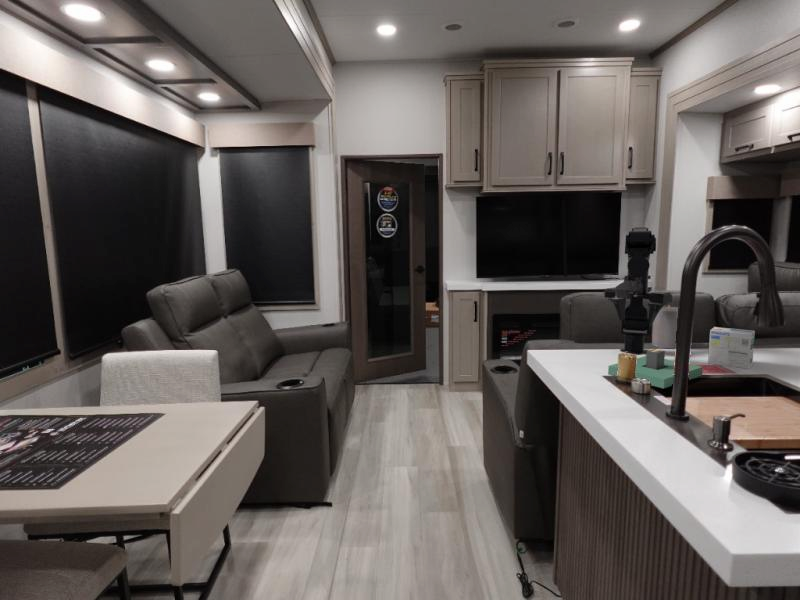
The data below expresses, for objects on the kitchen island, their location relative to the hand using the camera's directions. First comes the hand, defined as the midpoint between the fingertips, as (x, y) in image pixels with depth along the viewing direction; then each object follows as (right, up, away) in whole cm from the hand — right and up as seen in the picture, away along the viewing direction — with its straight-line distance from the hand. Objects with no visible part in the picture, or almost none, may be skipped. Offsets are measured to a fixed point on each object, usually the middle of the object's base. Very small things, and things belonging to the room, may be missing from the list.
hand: (635, 322), depth 147 cm
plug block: (0, -14, -11) cm, 18 cm away
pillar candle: (+23, -10, +24) cm, 34 cm away
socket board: (0, -14, -11) cm, 18 cm away
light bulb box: (+28, -13, -1) cm, 31 cm away
